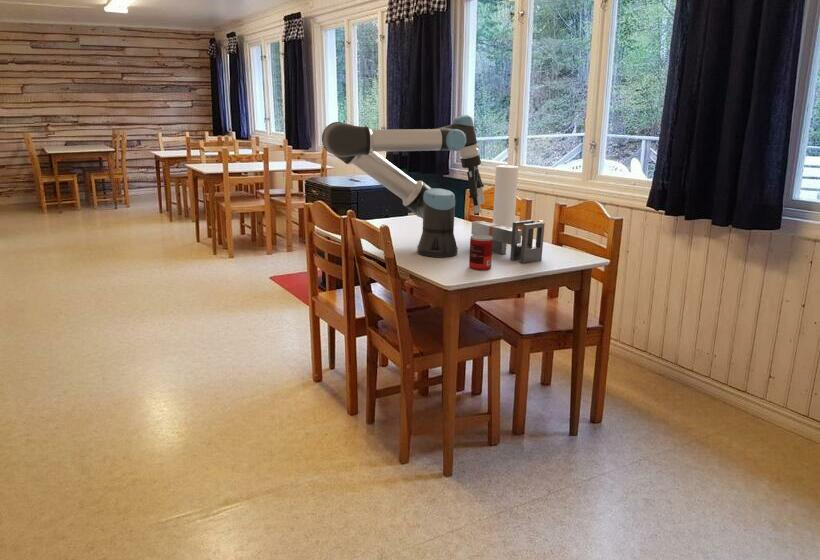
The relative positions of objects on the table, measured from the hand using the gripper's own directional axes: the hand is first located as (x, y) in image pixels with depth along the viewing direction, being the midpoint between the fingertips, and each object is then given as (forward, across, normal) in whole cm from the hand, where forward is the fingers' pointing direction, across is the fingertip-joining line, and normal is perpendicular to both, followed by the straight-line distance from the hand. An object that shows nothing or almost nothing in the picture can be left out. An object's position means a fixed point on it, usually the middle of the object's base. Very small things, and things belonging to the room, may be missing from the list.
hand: (479, 208), depth 248 cm
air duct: (+9, -14, -6) cm, 18 cm away
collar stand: (+16, -24, -18) cm, 34 cm away
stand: (+14, -14, -4) cm, 20 cm away
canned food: (+10, -41, -3) cm, 43 cm away
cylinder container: (+19, +20, -4) cm, 27 cm away
